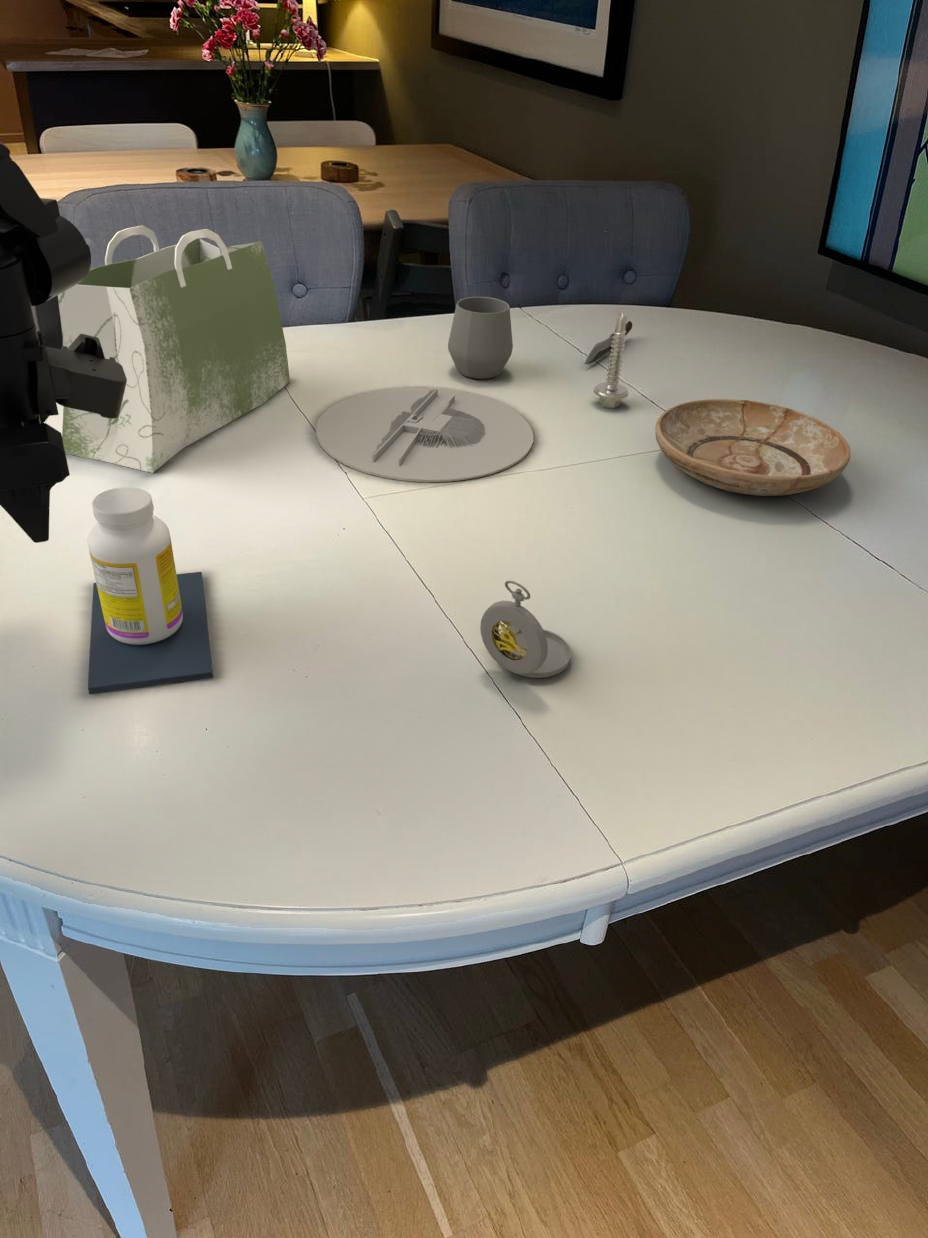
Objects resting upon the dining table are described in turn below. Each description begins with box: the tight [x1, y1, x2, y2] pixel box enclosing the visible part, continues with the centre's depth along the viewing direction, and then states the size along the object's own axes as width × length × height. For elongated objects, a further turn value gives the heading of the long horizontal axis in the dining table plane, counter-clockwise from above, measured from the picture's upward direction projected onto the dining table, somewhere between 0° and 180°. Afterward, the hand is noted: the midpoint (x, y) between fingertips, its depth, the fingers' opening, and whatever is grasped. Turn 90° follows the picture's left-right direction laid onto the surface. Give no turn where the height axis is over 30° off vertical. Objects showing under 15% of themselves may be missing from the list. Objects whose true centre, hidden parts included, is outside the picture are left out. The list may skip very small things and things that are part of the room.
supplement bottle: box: [87, 486, 183, 645], centre depth 82 cm, size 7×7×13 cm
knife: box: [583, 320, 633, 365], centre depth 150 cm, size 18×2×3 cm, turn 150°
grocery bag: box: [57, 225, 291, 474], centre depth 117 cm, size 32×14×23 cm, turn 159°
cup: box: [447, 296, 514, 380], centre depth 138 cm, size 10×9×10 cm
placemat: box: [87, 571, 214, 694], centre depth 86 cm, size 16×10×1 cm, turn 16°
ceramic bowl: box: [654, 398, 851, 497], centre depth 117 cm, size 23×24×5 cm
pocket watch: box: [479, 580, 572, 679], centre depth 82 cm, size 8×8×10 cm
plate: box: [315, 387, 534, 483], centre depth 123 cm, size 28×28×1 cm
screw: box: [593, 311, 630, 409], centre depth 130 cm, size 13×5×5 cm
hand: (38, 513), depth 79 cm, fingers open, 9 cm apart
